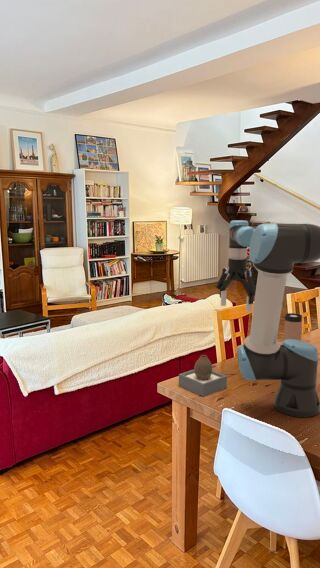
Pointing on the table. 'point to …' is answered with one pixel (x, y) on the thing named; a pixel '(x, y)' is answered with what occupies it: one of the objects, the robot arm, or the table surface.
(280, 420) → the table surface
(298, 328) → the travel mug
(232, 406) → the table surface
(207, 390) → the gray square tray
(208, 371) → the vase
